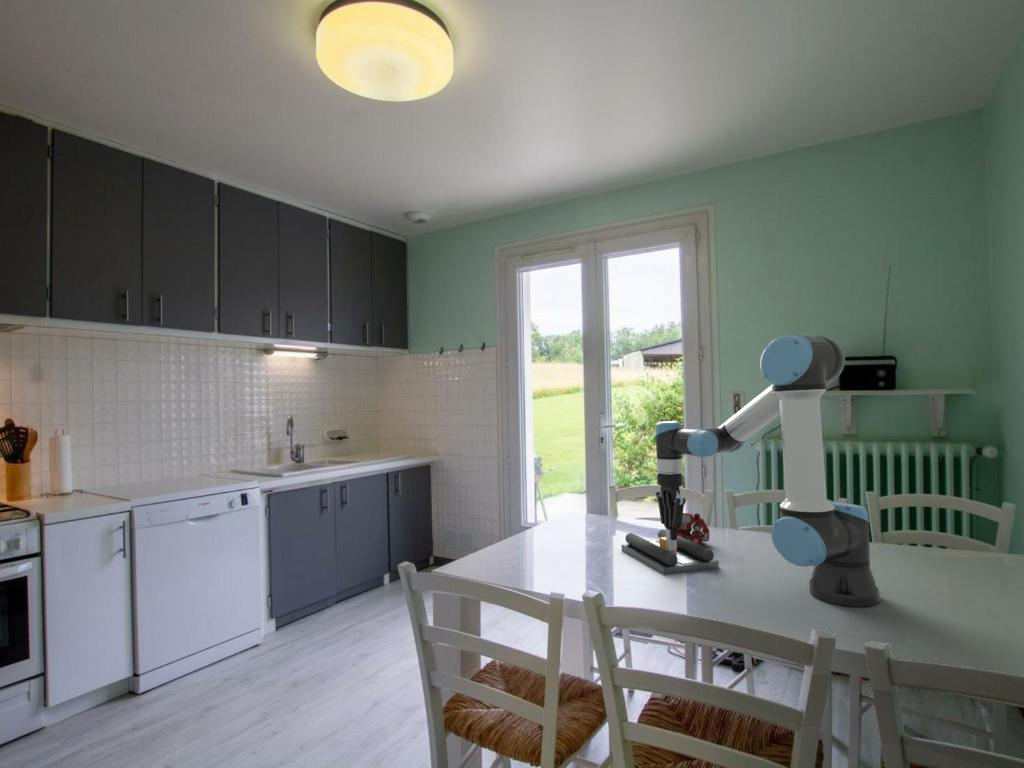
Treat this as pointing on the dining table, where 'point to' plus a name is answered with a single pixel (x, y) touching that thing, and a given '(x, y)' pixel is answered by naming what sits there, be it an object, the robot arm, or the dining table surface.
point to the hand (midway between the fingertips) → (671, 549)
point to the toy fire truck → (696, 534)
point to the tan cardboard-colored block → (664, 544)
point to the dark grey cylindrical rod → (691, 547)
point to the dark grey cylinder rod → (652, 549)
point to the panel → (684, 564)
